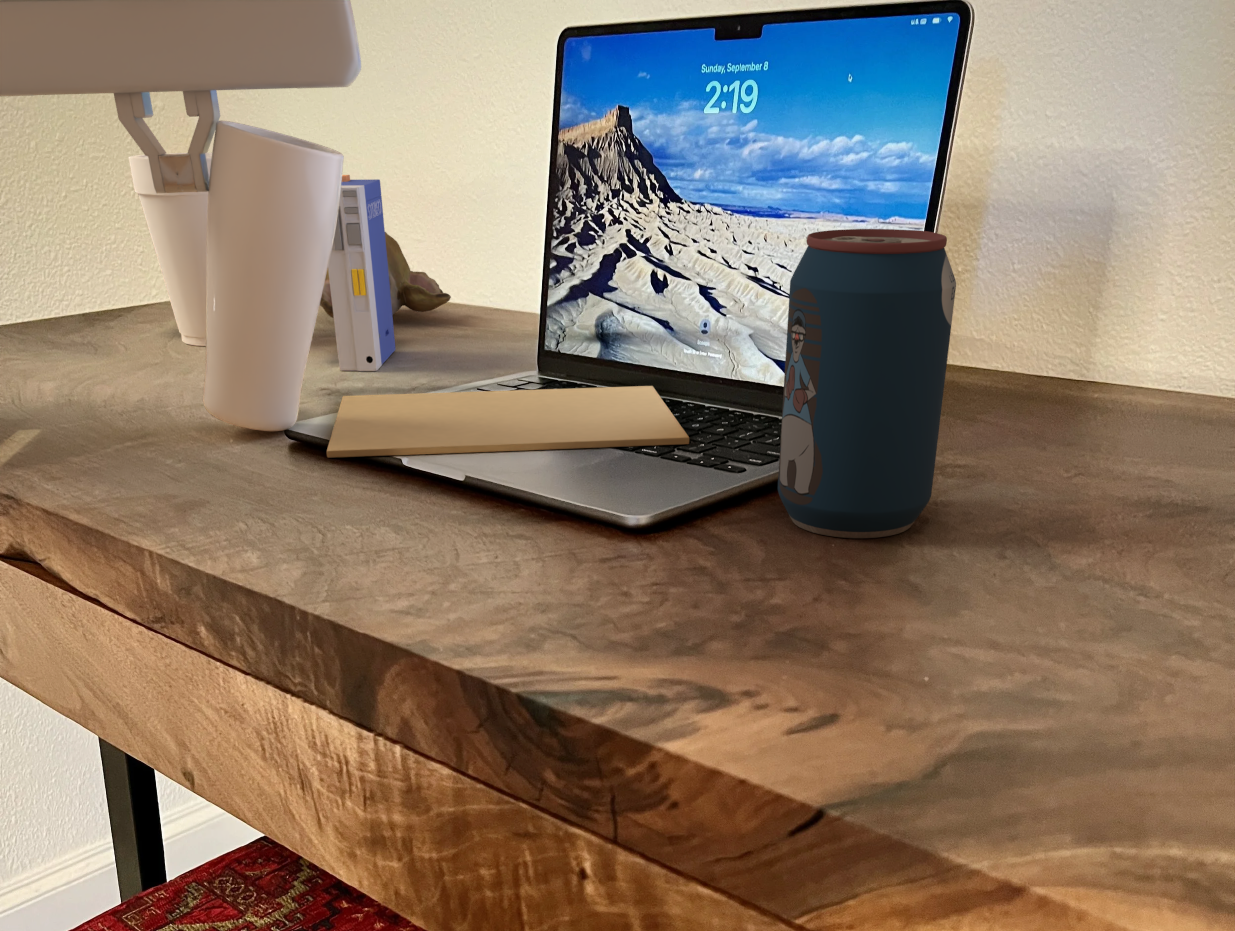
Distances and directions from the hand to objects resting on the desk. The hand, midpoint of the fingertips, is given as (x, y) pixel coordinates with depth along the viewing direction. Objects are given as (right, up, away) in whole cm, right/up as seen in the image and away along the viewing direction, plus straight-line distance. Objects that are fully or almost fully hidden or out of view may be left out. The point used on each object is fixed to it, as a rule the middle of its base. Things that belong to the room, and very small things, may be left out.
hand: (183, 191), depth 68 cm
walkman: (+5, 0, +25) cm, 26 cm away
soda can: (+34, -20, -9) cm, 40 cm away
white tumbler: (+2, -10, +6) cm, 12 cm away
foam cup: (-8, +5, +34) cm, 35 cm away
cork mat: (+16, -10, +8) cm, 21 cm away
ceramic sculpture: (+2, +10, +42) cm, 43 cm away
